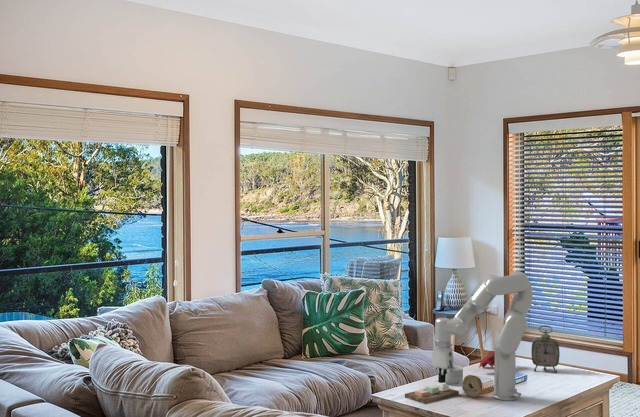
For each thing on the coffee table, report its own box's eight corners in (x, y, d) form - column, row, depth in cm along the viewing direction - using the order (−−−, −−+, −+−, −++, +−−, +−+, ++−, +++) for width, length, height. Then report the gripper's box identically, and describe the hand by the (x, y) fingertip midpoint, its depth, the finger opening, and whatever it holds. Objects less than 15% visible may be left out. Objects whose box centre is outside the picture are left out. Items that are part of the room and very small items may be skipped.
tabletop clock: (531, 371, 379) (531, 326, 379) (531, 368, 388) (531, 323, 387) (559, 374, 375) (560, 327, 374) (558, 370, 384) (559, 324, 383)
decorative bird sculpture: (475, 381, 375) (491, 364, 368) (464, 367, 380) (480, 350, 373) (504, 372, 394) (520, 356, 387) (494, 359, 399) (510, 343, 392)
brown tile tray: (458, 394, 333) (458, 391, 333) (423, 403, 319) (423, 399, 319) (440, 389, 343) (440, 385, 343) (404, 397, 328) (404, 393, 328)
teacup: (456, 387, 347) (457, 371, 347) (437, 383, 354) (437, 367, 354) (469, 381, 358) (469, 365, 358) (449, 378, 365) (450, 362, 365)
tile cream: (448, 389, 335) (448, 384, 335) (442, 391, 332) (442, 386, 332) (442, 387, 338) (442, 382, 338) (435, 389, 336) (435, 384, 335)
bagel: (484, 397, 329) (484, 376, 329) (479, 399, 327) (479, 377, 327) (465, 393, 337) (465, 372, 337) (461, 394, 334) (461, 373, 334)
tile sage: (438, 392, 330) (438, 387, 330) (432, 393, 328) (432, 388, 328) (431, 390, 334) (432, 384, 334) (425, 391, 331) (425, 386, 331)
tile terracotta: (428, 397, 326) (428, 391, 326) (421, 398, 324) (421, 393, 324) (421, 394, 330) (421, 389, 330) (414, 396, 327) (414, 391, 327)
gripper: (459, 346, 331) (459, 384, 331) (436, 340, 343) (435, 377, 343) (449, 348, 327) (448, 387, 327) (425, 342, 338) (425, 380, 339)
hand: (441, 382), depth 335 cm, fingers closed
